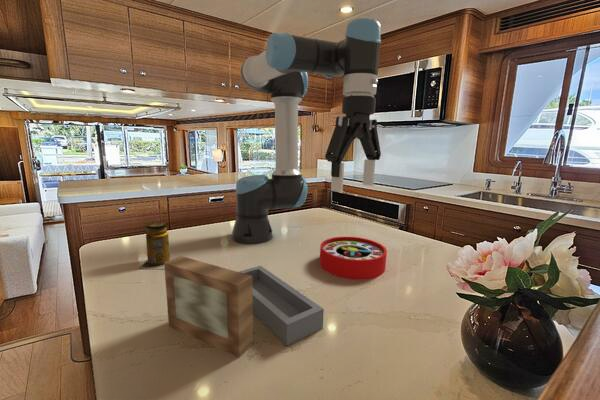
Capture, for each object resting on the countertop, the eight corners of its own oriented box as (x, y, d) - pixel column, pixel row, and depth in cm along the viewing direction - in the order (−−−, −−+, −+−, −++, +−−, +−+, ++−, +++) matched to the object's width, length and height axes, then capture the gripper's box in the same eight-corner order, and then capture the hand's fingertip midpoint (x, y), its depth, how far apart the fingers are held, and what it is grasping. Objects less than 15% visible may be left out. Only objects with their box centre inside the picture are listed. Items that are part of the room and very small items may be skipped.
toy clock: (324, 234, 104) (384, 239, 100) (324, 250, 105) (383, 256, 101) (315, 256, 85) (389, 264, 81) (314, 275, 86) (387, 284, 82)
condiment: (175, 257, 95) (172, 221, 93) (164, 269, 87) (161, 229, 84) (151, 257, 95) (148, 220, 92) (138, 269, 87) (134, 229, 84)
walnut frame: (168, 327, 61) (163, 262, 58) (184, 316, 65) (181, 255, 62) (239, 358, 53) (237, 285, 51) (253, 344, 57) (252, 275, 54)
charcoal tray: (229, 290, 76) (229, 274, 75) (260, 281, 81) (260, 265, 80) (287, 346, 57) (287, 324, 56) (322, 328, 62) (323, 308, 61)
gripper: (340, 88, 58) (335, 197, 62) (399, 100, 76) (391, 184, 80) (311, 91, 63) (307, 191, 67) (372, 102, 80) (366, 181, 85)
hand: (353, 188), depth 74 cm, fingers open, 13 cm apart
